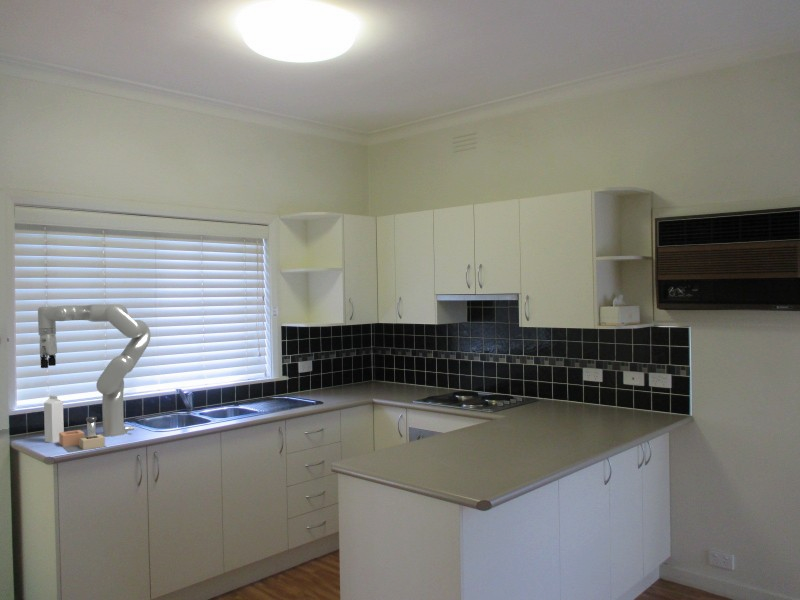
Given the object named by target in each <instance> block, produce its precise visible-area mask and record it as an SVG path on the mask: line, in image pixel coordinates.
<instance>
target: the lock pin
mask: <svg viewBox="0 0 800 600" xmlns="http://www.w3.org/2000/svg"><path fill="white" fill-rule="evenodd" d="M97 420H98V417H97V416H90V417H85V421H86V424H87V426H86V427H87V431H86V432H87V436H88V439H92V438H96V435H97V433H96V432H97V431H96V429H97V427H96V421H97Z"/></svg>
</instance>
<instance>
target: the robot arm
mask: <svg viewBox="0 0 800 600" xmlns="http://www.w3.org/2000/svg"><path fill="white" fill-rule="evenodd" d="M128 312H129V311H128V309H127V307H126V306H125V305H123V304H86V305H58V306H40V307H38V309H37V324H38V325H37V328H38V329H37V330H38V336H39V357H40V368H41V369H48V368H49V367H53V366H55V367H56V365H57V362H56V361H57V360H56V358H57V356H56V354H57V353H58V343H57V337H56V335H57V327H56V325H57V324H56V323H57V322H66V321H89V322H91V323H96V322H97V323H98V322H100V323H101V322H105V323H106V322H109V323H110V324H111V326H113V327H114V328H115V329H116V330H118V331H119V332H120V333H121V334H122V335H124V336H126V338H129V339H130V341H129V342H128V344H127V345H126V346H125V348H124V350H123V351H122V352H121V353H120V355H117V356H116V357H114V358H112V359H111V360H110V362H109V363H108V364H107V366H106V367H105V368H104V370H103V371H102V373H101V374H100V375H99V377H98V378H97V381H96V389H97V391H98V392H99V393H100V394H102V399H101V400H102V406H101V407H102V408H101V410H102V433H99V434H100V435H102V436H103V437H105V438H111V437H112V438H113V437H120V436H124V435H127V434H128V431H134V430H135V426H134V425H133V426H125V424H124V423H125V421H124V420H125V419H124V418H125V417H124V390H125V380H124V378H125V377H126V375H127V374H129V373H131V372H132V371H133V369H134V368H135V366H136V365H137V363H138V362H139V360H140V358H141V357H142V355H143V354H144V353H145V351H146V349H147V348H148V346H149V344H150V341H151V330H150V328H149V326H148V324H147V323H146V322H144V321H143V320H141V319H134V318H132V317H131V316H130V315H129V314H128Z"/></svg>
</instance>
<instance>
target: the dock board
mask: <svg viewBox="0 0 800 600" xmlns="http://www.w3.org/2000/svg"><path fill="white" fill-rule="evenodd" d="M100 434H101V433H99V434H96V438H92V439H88V435H87V436H86V435H85V432H84V431H83V430H81V429H78V430H77V429H76V430H69V431H64V432H60V433H59V442H57V444H58V445H59V446H60V447H62V449H63V450H64V451H65V452H67V453H74V452H75V453H76V452H81V451H82V452H83V451H88V450H95V449H102V448H107V445H106V444H105V443H106V440H105V439H106V437H103V436H102V435H100Z"/></svg>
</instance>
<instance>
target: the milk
mask: <svg viewBox="0 0 800 600" xmlns="http://www.w3.org/2000/svg"><path fill="white" fill-rule="evenodd" d="M43 415H44V416H43V418H44V420H43V421H44V423H43V424H44V442H45V443H50V444H53V443H59V433H60V432H65V430H64V429H65V428H64V401H62V400H60V399H58V396H57V395H49V396H48V399H47V400H46V401H44V402H43Z"/></svg>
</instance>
